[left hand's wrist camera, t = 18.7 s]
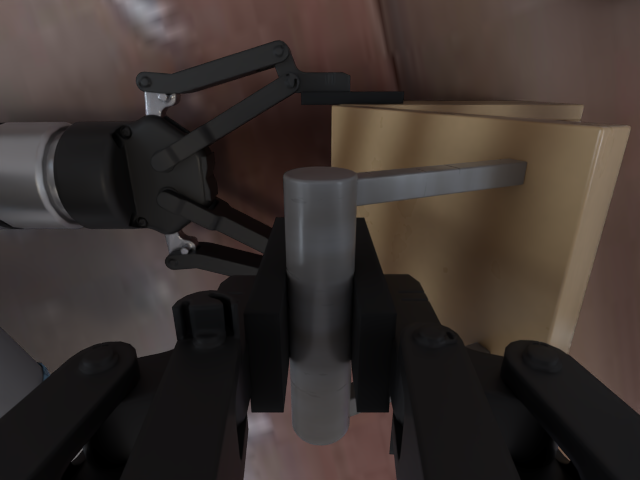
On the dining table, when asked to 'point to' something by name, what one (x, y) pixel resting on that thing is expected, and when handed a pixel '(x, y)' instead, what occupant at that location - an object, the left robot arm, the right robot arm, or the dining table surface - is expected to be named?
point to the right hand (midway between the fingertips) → (394, 175)
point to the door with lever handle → (442, 235)
